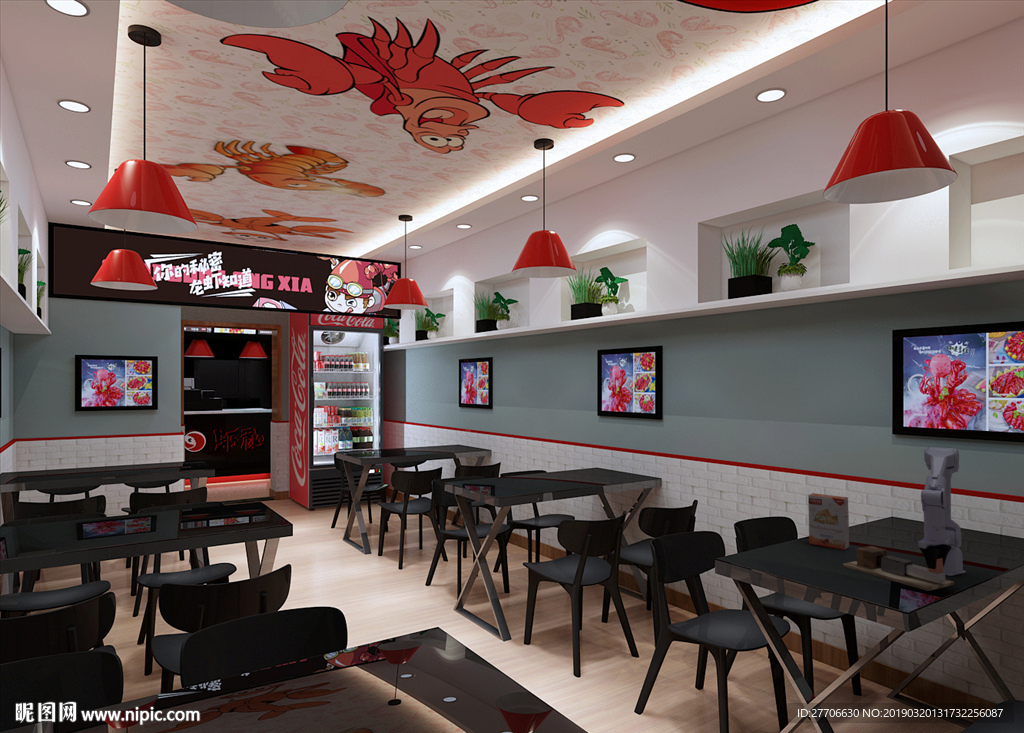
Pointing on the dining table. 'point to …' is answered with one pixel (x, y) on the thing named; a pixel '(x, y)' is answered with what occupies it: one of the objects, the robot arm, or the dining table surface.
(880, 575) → the board
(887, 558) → the sleeve
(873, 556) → the socket block
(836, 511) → the cracker box
